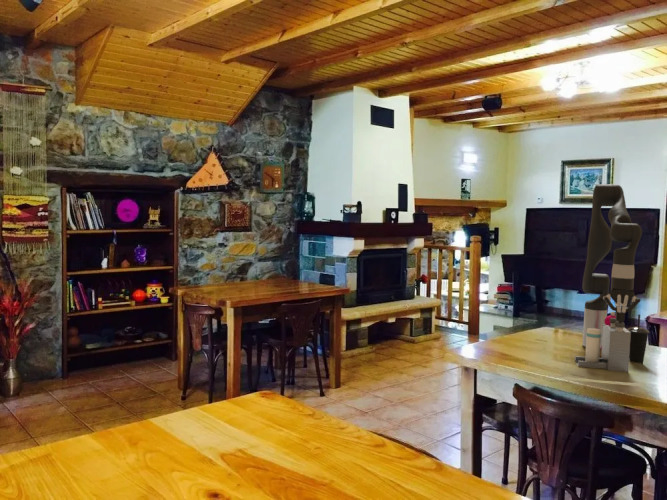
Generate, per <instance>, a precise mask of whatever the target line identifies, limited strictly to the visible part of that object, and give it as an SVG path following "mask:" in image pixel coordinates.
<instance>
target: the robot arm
mask: <svg viewBox="0 0 667 500" xmlns="http://www.w3.org/2000/svg"><path fill="white" fill-rule="evenodd" d="M592 192H593V193H592V202H591V203H592V207H591V221H590V227H589V232H588V233H589V234H588V241H587V242H588V243H587V252H586V253H587V254H586V262H585V267H584V272H583V276H582V285H581V287H582V288H581V289H582V291H583V293H584V294H590V295H591V294H592V295H599V296H598V297H596V298H594V299H591V300H587V301H585V303H584V315H583V331H582V346H583V347H585V348H586V338H587V336H586V333H587V328H595V329H600V330H601V341H600V350H601V346H602V339H603V325H606V324H605V323H604V320H605V318H606V317H607V316H608V307H609V308H610V310H612V311H613V312H615V316H616V320H617V322H622V323H624V322H625V320H626V313H628V312H631V311H633V309H634V308H635V307H636V306H637V305H638V304H639V303H640V302H641V299H640V298H638V297H637V296H635V293H634V283H635V257H636V252H637V248H638V245H639V242H640V240H641V239H642V235H643V229H642V227H641V225H639V223H632V219H631V216H630V215H629V212H628V209H627V204H626V198H625V194H624V189H623V187H622V186H621V185H620V184H616V183H615V184H613V183H610V184H607V183H606V184H596V185H595V186H594V188H593V191H592ZM602 207H611V208H610V209H609V212H608V216H607V217H608V221H609V223H610V224H611V225H610V227H609V225H608V223H607V222H606V221H605V219H604V216H603V213H602ZM613 241H614V242H617V243H628V244H627V245H626V246H625V247H619V248H616V249H614V251H613V259H612V261H613V262H612V268H611V279H610V276H609V275H608V274H606V273H596V272H595V273H594V271H595V269H596V267H597V266H598V264H600V262H601V261H602V260H603V259H604V258H605V257H606V256H607V255H608V254H609V253H610V252H611V249H612V242H613ZM610 281H611V282H610ZM611 300H612V301H614V304H615V305H613V303H612V301H611ZM630 301H631V302H630ZM629 302H630V303H629ZM628 303H629V305H628Z"/></svg>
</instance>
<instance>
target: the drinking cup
mask: <svg viewBox="0 0 667 500" xmlns="http://www.w3.org/2000/svg"><path fill="white" fill-rule="evenodd" d="M640 324H641V314H637V326H633V327H632V326H631V327H630V328H627V330H628V331H630V332H631V338H630V353H629V362H632V363H639V364H641V365H644V360H645V353H646V348H647V343H648V342H647V341H648V335H649V333H650V330H648V329H646V328H644V327H640Z"/></svg>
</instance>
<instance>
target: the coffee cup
mask: <svg viewBox="0 0 667 500" xmlns="http://www.w3.org/2000/svg"><path fill="white" fill-rule="evenodd" d="M586 336H587V338H586V347H585V356H584V357H585V361H590V362H599V358H601V357H600V356H601V354H600V353H601V349H600V341H601V330H600V329H595V328H587V333H586Z"/></svg>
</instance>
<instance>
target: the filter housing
mask: <svg viewBox="0 0 667 500" xmlns="http://www.w3.org/2000/svg"><path fill="white" fill-rule="evenodd" d="M610 326H611V325H603V339H602V350H601V354H600V356H601V357H599V362H590V361H585V356H579V355H578V356H577V355H575V356H574V362H575V364H576V365H577V367H578V368H579V367H580V368H590V369H591V368H593V369H604V370H605V369H606V370H607V371H612V372H625V373H629V367H630V366H629V365H630V361H629V353H630V338H631V332H630V331H628V328H626V327H625V326H624V327H623V332H619V331H615V329H616V327H610Z"/></svg>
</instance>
